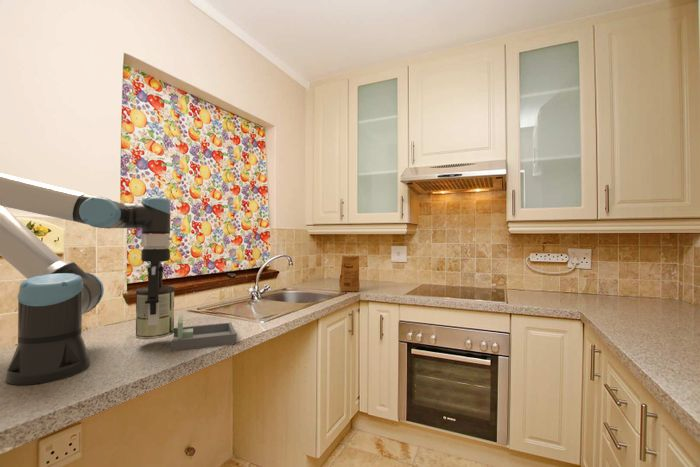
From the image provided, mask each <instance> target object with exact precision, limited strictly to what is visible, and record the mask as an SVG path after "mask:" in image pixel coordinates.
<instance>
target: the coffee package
mask: <svg viewBox="0 0 700 467" xmlns="http://www.w3.org/2000/svg"><path fill="white" fill-rule="evenodd" d="M341 258H342V260H341V266H340V276H339V291H340V290H341V291H358V292H360V256H359V255H355V256H353V255H352V256H349V255H342V257H341ZM341 291H340V292H341Z"/></svg>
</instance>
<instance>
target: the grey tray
mask: <svg viewBox="0 0 700 467" xmlns="http://www.w3.org/2000/svg"><path fill="white" fill-rule="evenodd" d="M192 328H193V338H185V339H178V326H177V327H174V333H173V339H171V350H170V351H171V352H176V351H182V350H183V351H185V350H193V349H200V348H201V349H202V348H209V347H217V346H225V345H233V344H237V333H236V331H235V328H234V325H233V322H222V323H211V324H210V323H209V324H208V323H207V324H201V325H200V324H198V325H197V324H196V325H187V326H183V329H192Z"/></svg>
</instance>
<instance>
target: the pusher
mask: <svg viewBox="0 0 700 467" xmlns="http://www.w3.org/2000/svg"><path fill="white" fill-rule="evenodd" d="M177 327H178V339H185V338H193V328H192V329H183V327H184V314H183V313H182V314H181V313H180V314H178V321H177Z"/></svg>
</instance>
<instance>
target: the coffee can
mask: <svg viewBox="0 0 700 467" xmlns="http://www.w3.org/2000/svg"><path fill="white" fill-rule="evenodd" d="M175 289H176V287H175V286H172V285H162V286H161V287H159V296H158V300H159V325H153V326H148V304H145V301H147V299H148V286H145V287H144V286H143V287H139V288H137V289H135V294H136V296H135V298H136V300H135V302H136V303H135V317H136V318H135V338H136V339H139V340H156V339H161V338H166V337H169V336H171V335H172V334H173V335H174V328H175Z"/></svg>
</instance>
